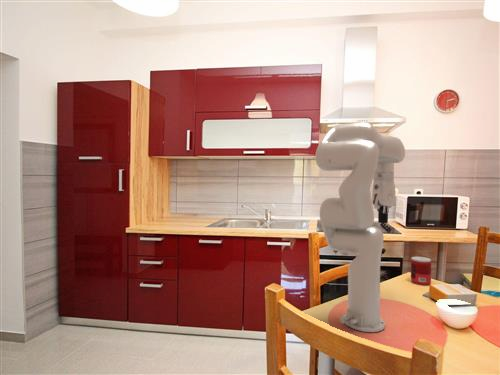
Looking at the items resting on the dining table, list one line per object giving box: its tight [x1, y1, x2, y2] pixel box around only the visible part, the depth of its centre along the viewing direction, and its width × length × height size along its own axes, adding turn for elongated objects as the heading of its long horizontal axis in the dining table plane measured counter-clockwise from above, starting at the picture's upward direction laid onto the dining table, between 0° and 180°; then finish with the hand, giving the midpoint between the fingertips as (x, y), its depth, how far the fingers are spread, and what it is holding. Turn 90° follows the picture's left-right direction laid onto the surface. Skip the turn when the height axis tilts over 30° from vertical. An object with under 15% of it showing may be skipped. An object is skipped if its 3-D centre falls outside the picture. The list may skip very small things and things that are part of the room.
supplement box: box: [428, 283, 478, 306], centre depth 113 cm, size 8×5×13 cm
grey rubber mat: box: [422, 291, 434, 300], centre depth 119 cm, size 12×8×1 cm, turn 126°
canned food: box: [410, 256, 432, 286], centre depth 135 cm, size 8×8×11 cm
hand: (383, 222), depth 120 cm, fingers closed
